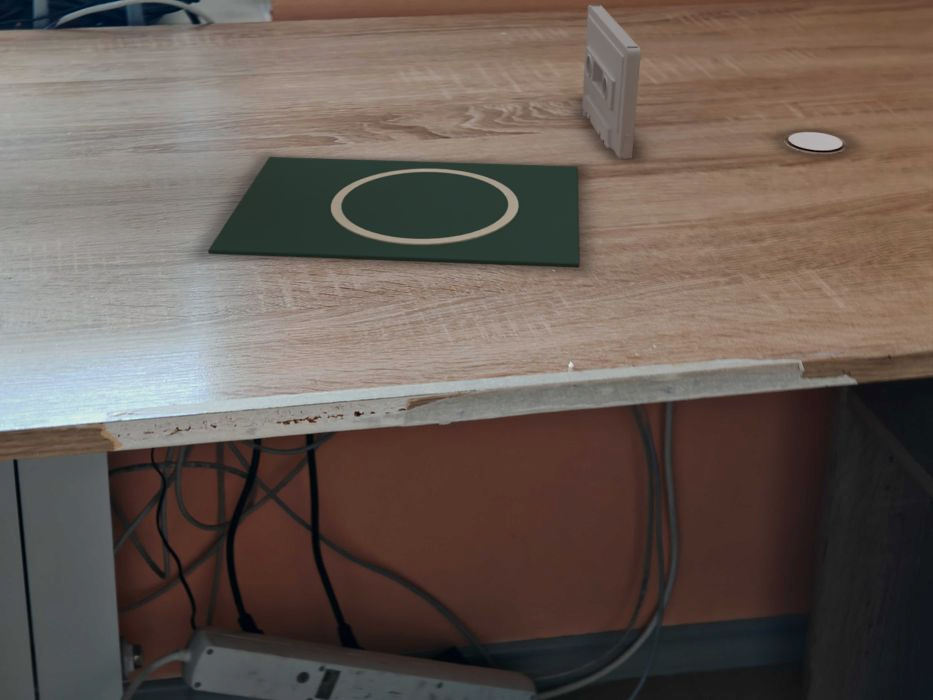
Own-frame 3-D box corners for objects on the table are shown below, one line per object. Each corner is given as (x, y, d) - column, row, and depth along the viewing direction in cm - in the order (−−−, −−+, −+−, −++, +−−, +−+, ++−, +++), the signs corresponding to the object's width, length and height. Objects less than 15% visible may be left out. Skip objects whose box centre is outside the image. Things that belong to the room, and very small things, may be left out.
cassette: (639, 166, 71) (649, 49, 67) (611, 167, 71) (620, 50, 67) (599, 107, 81) (606, 3, 77) (575, 108, 81) (580, 3, 77)
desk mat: (209, 263, 59) (207, 247, 58) (270, 167, 71) (268, 154, 70) (578, 277, 57) (579, 261, 57) (577, 177, 69) (577, 163, 69)
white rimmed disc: (771, 148, 73) (772, 139, 73) (805, 135, 76) (807, 126, 75) (822, 165, 71) (824, 156, 71) (856, 151, 73) (858, 142, 73)
